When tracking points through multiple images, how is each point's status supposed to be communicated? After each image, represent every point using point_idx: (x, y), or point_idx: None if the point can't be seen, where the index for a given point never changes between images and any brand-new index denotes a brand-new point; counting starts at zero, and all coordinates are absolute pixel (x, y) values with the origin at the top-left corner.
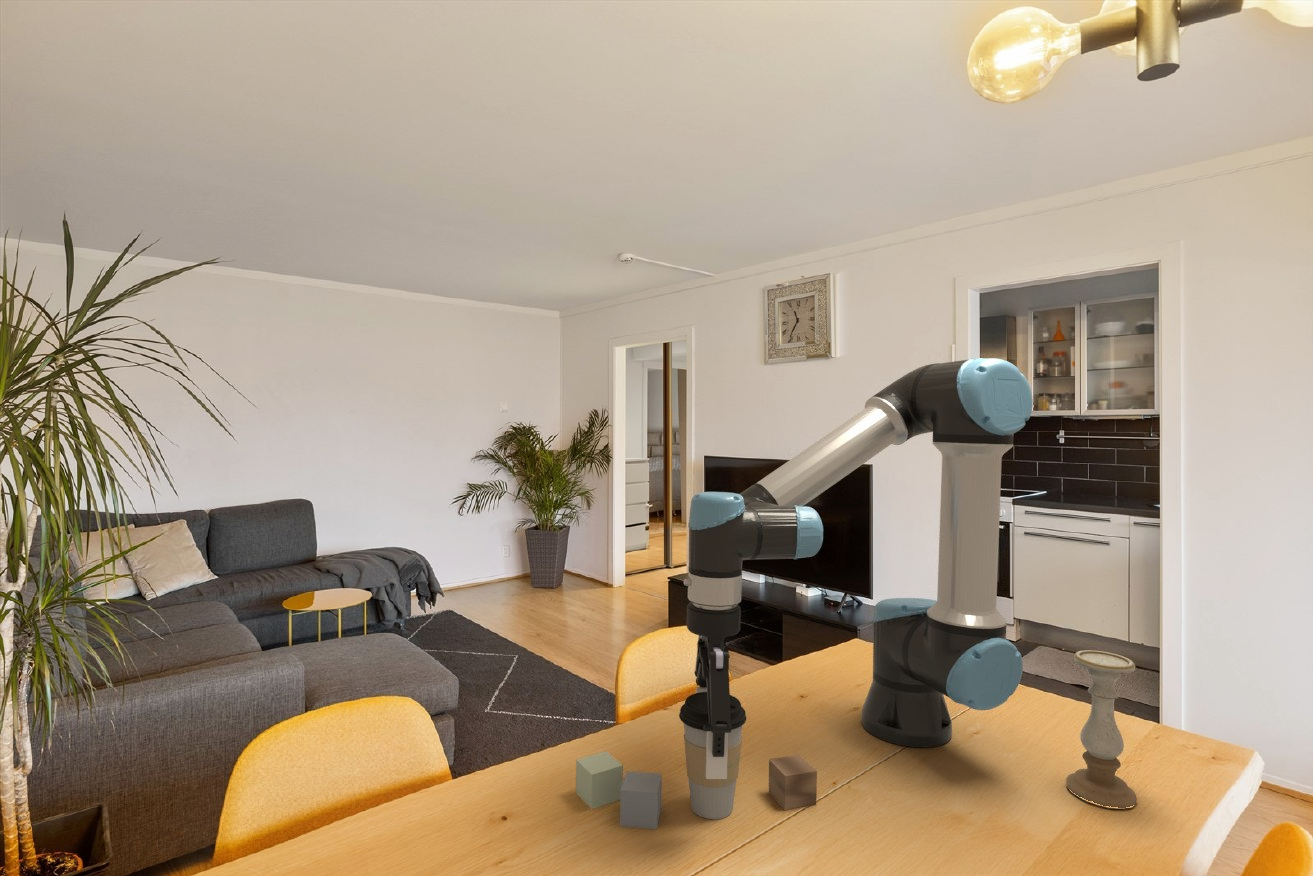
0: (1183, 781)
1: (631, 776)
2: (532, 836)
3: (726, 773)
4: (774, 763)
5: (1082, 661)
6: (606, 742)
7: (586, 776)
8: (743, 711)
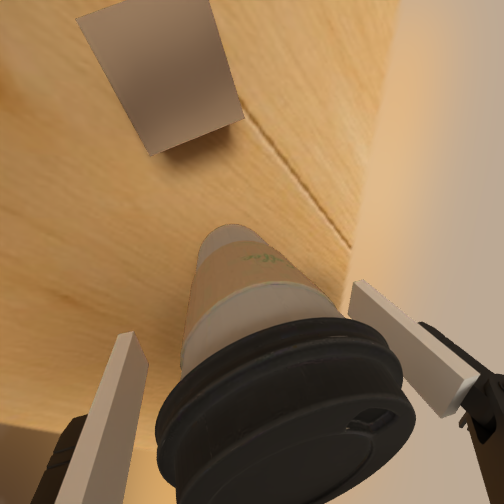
0: None
1: None
2: None
3: (372, 287)
4: (173, 141)
5: None
6: (62, 414)
7: None
8: (310, 353)
